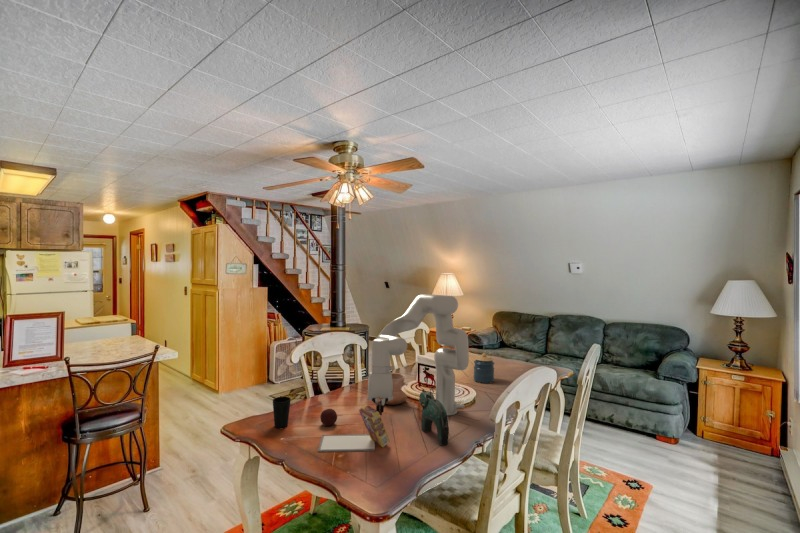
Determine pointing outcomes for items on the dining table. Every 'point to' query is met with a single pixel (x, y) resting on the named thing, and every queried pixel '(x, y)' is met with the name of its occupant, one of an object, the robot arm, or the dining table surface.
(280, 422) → the cup
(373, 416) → the candy box
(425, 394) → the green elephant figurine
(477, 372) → the canister
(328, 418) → the dark maroon ball
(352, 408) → the dining table surface
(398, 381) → the ceramic jug
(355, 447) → the mat
